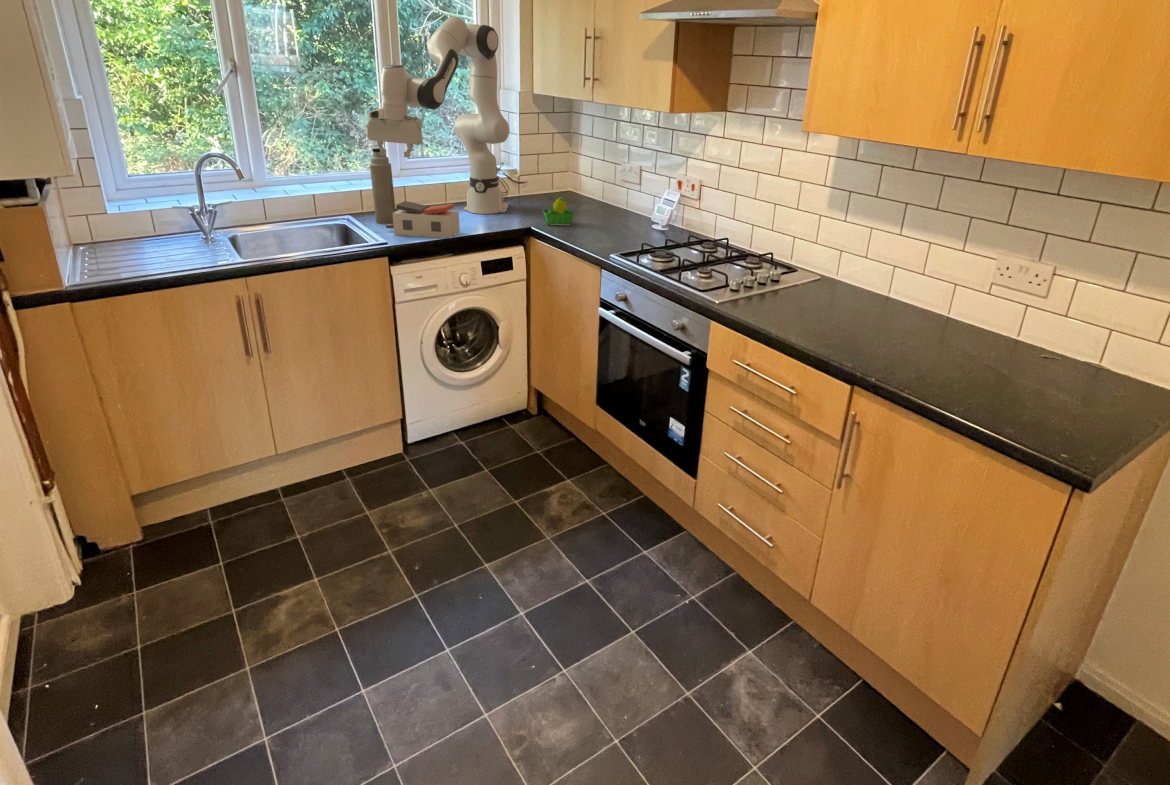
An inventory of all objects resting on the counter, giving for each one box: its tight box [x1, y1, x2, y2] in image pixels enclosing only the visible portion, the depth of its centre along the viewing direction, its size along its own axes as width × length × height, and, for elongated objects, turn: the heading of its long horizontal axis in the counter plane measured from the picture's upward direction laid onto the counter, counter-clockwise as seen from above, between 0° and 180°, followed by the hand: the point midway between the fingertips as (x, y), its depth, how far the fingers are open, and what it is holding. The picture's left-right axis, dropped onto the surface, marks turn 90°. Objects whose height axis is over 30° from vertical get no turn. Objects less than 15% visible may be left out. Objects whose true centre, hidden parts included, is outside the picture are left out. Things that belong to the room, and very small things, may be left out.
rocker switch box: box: [385, 209, 461, 239], centre depth 267 cm, size 10×27×8 cm, turn 81°
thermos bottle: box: [369, 147, 397, 225], centre depth 279 cm, size 8×8×28 cm
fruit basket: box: [542, 196, 574, 225], centre depth 283 cm, size 11×9×11 cm
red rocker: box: [423, 203, 455, 214], centre depth 263 cm, size 8×9×2 cm
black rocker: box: [395, 200, 429, 214], centre depth 265 cm, size 8×9×2 cm
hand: (395, 156), depth 255 cm, fingers open, 8 cm apart
